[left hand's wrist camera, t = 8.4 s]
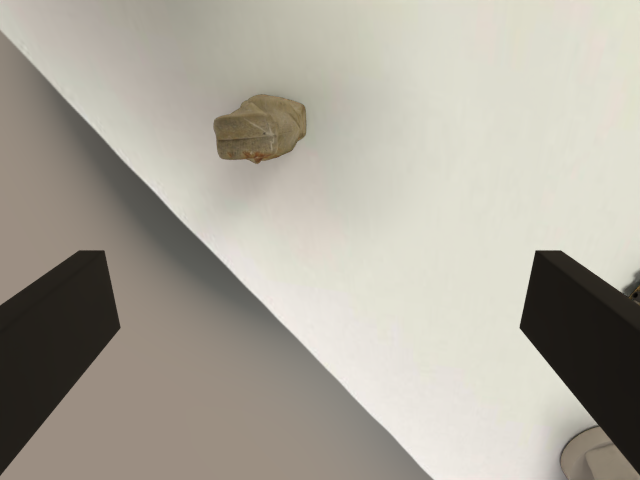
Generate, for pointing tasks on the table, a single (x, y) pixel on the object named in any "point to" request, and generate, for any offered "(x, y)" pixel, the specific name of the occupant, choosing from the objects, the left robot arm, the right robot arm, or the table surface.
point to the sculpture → (260, 129)
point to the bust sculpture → (595, 458)
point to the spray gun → (636, 295)
